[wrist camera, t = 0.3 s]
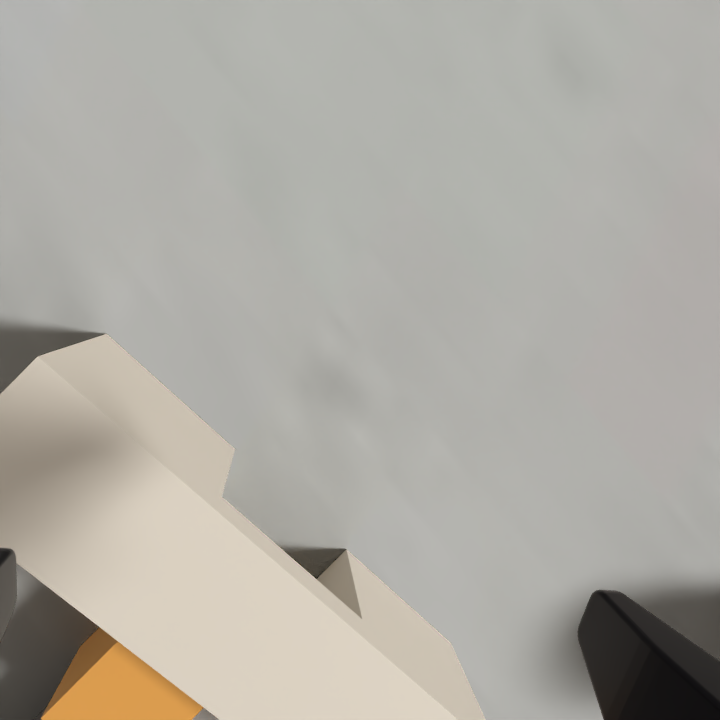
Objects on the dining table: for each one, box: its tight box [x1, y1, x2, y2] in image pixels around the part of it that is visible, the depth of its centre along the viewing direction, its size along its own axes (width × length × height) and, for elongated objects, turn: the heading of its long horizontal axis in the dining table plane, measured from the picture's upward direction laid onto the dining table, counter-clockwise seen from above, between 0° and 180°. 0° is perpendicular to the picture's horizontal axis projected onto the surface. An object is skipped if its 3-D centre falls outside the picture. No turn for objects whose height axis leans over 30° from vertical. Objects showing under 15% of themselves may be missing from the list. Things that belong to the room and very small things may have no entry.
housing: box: [0, 334, 486, 720], centre depth 21 cm, size 5×20×6 cm, turn 44°
